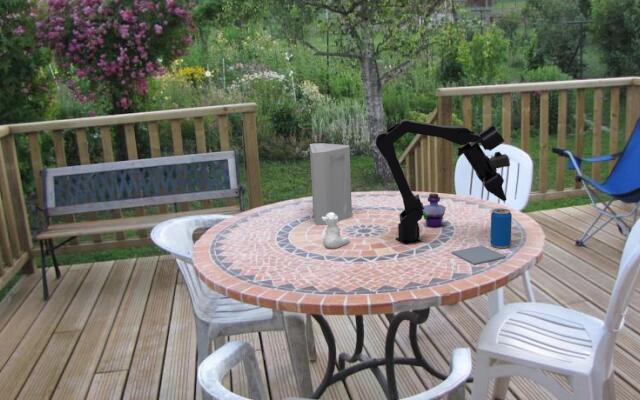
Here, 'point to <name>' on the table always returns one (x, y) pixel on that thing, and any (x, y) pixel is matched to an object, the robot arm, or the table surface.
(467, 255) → the mat
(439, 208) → the potion bottle
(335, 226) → the sitting furry creature
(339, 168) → the gray triangular prism
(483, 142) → the robot arm
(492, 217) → the beverage can
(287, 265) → the table surface
